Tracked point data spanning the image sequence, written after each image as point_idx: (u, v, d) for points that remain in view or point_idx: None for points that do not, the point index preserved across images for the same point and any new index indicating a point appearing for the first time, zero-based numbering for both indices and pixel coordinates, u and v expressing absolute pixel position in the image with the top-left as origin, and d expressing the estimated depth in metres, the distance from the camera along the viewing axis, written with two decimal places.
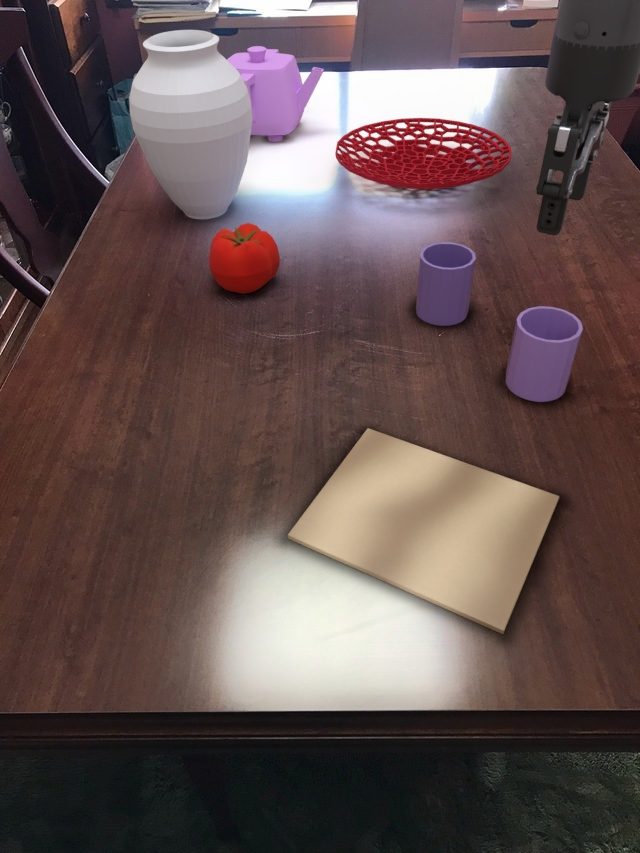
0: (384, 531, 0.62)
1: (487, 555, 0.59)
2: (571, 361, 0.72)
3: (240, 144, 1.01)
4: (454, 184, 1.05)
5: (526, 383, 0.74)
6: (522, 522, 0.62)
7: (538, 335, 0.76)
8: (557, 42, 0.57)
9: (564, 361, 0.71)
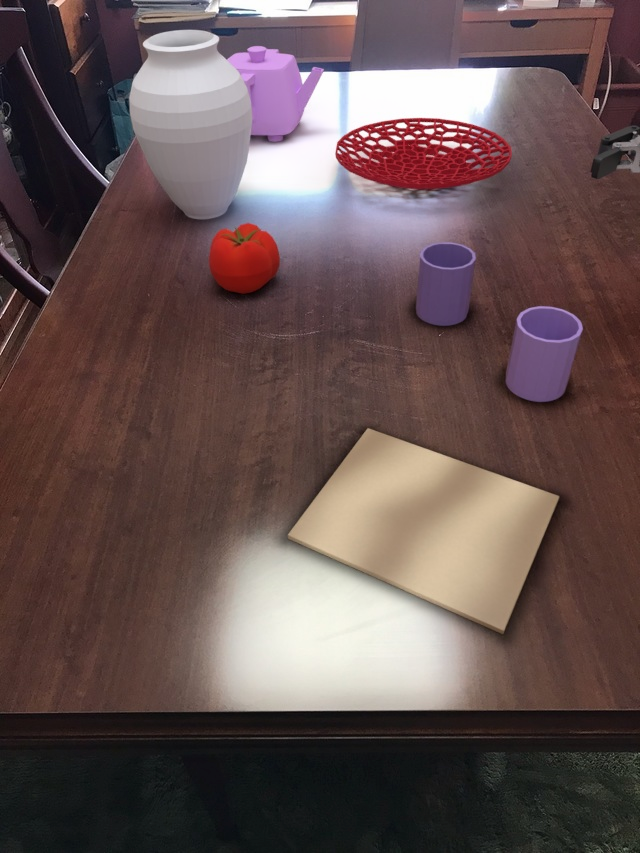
0: (384, 531, 0.62)
1: (487, 555, 0.59)
2: (571, 361, 0.72)
3: (240, 144, 1.01)
4: (454, 184, 1.05)
5: (526, 383, 0.74)
6: (522, 522, 0.62)
7: (538, 335, 0.76)
8: None
9: (564, 361, 0.71)
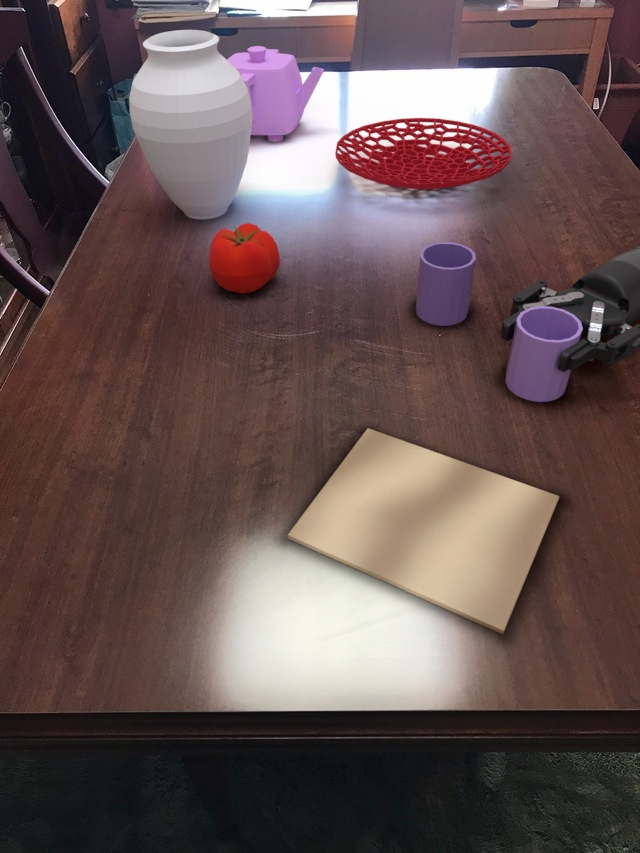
0: (384, 531, 0.62)
1: (487, 555, 0.59)
2: None
3: (240, 144, 1.01)
4: (454, 184, 1.05)
5: (526, 383, 0.74)
6: (522, 522, 0.62)
7: (538, 335, 0.76)
8: None
9: None
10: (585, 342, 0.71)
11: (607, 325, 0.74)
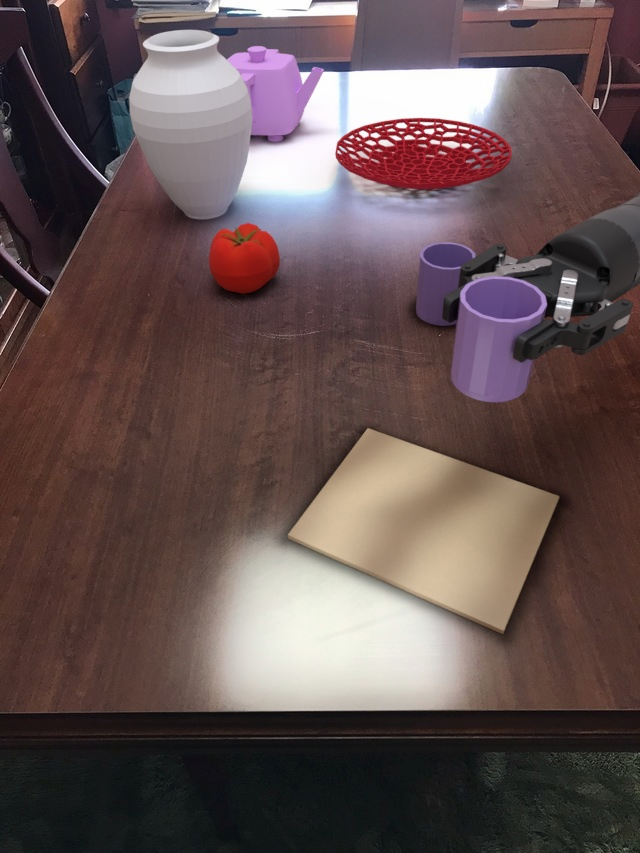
0: (384, 531, 0.62)
1: (487, 555, 0.59)
2: None
3: (240, 144, 1.01)
4: (454, 184, 1.05)
5: (474, 377, 0.56)
6: (522, 522, 0.62)
7: (492, 315, 0.58)
8: None
9: None
10: (550, 322, 0.53)
11: (581, 301, 0.56)
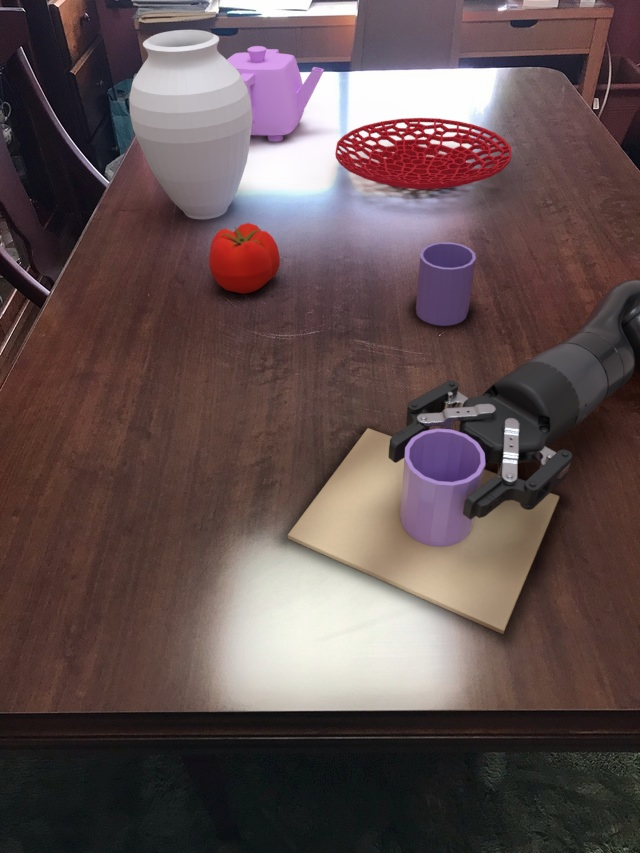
0: (384, 531, 0.62)
1: (487, 555, 0.59)
2: None
3: (240, 144, 1.01)
4: (454, 184, 1.05)
5: (419, 525, 0.59)
6: (522, 522, 0.62)
7: (438, 460, 0.62)
8: None
9: (462, 504, 0.57)
10: (498, 481, 0.55)
11: (521, 451, 0.58)
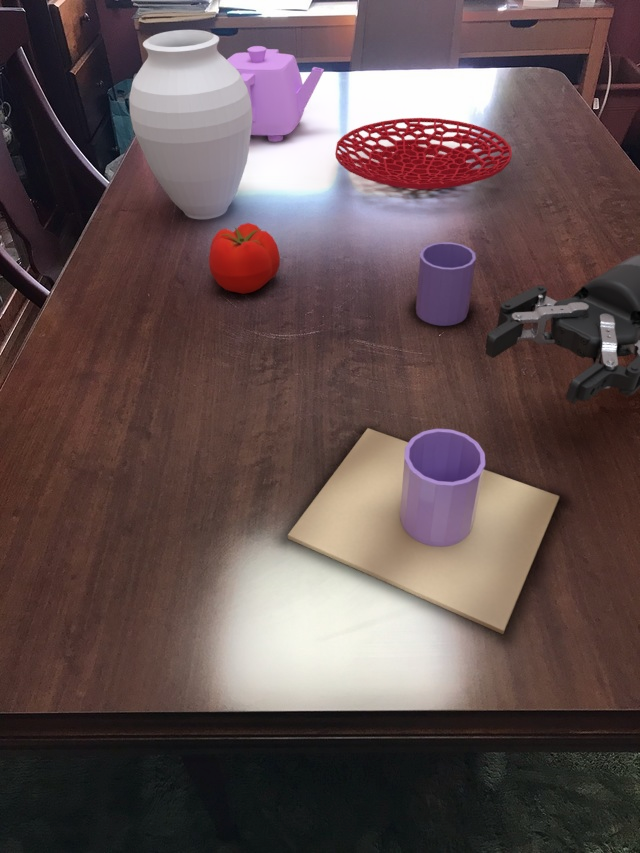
0: (384, 531, 0.62)
1: (487, 555, 0.59)
2: (473, 502, 0.58)
3: (240, 144, 1.01)
4: (454, 184, 1.05)
5: (419, 525, 0.59)
6: (522, 522, 0.62)
7: (438, 460, 0.62)
8: None
9: (462, 504, 0.57)
10: (600, 366, 0.57)
11: (617, 343, 0.60)
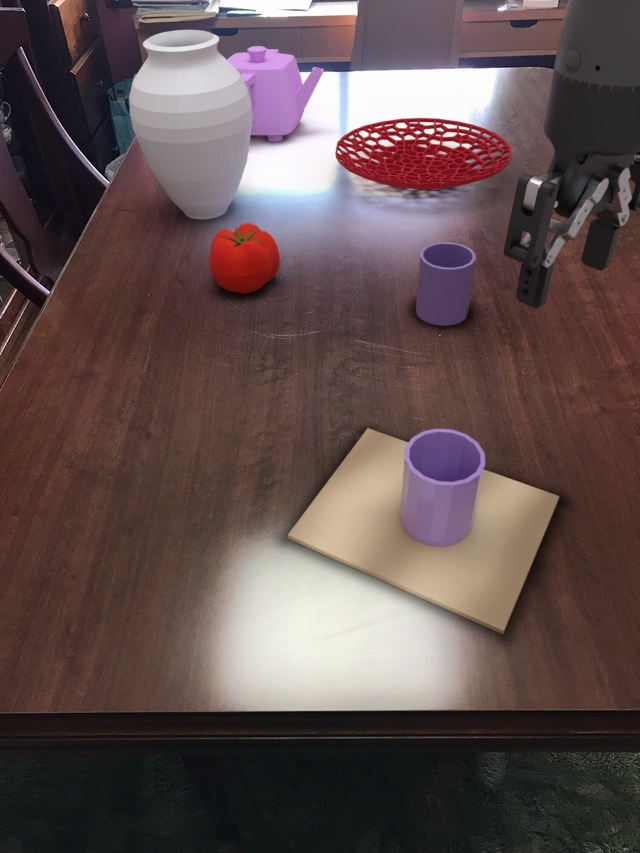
0: (384, 531, 0.62)
1: (487, 555, 0.59)
2: (473, 502, 0.58)
3: (240, 144, 1.01)
4: (454, 184, 1.05)
5: (419, 525, 0.59)
6: (522, 522, 0.62)
7: (438, 460, 0.62)
8: (553, 72, 0.45)
9: (462, 504, 0.57)
10: (618, 231, 0.54)
11: None
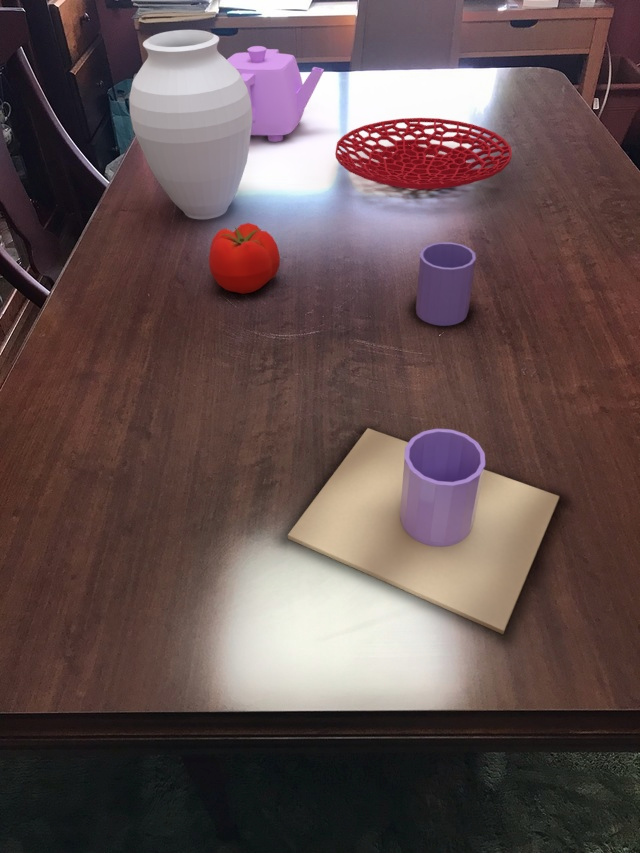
0: (384, 531, 0.62)
1: (487, 555, 0.59)
2: (473, 502, 0.58)
3: (240, 144, 1.01)
4: (454, 184, 1.05)
5: (419, 525, 0.59)
6: (522, 522, 0.62)
7: (438, 460, 0.62)
8: None
9: (462, 504, 0.57)
10: None
11: None
